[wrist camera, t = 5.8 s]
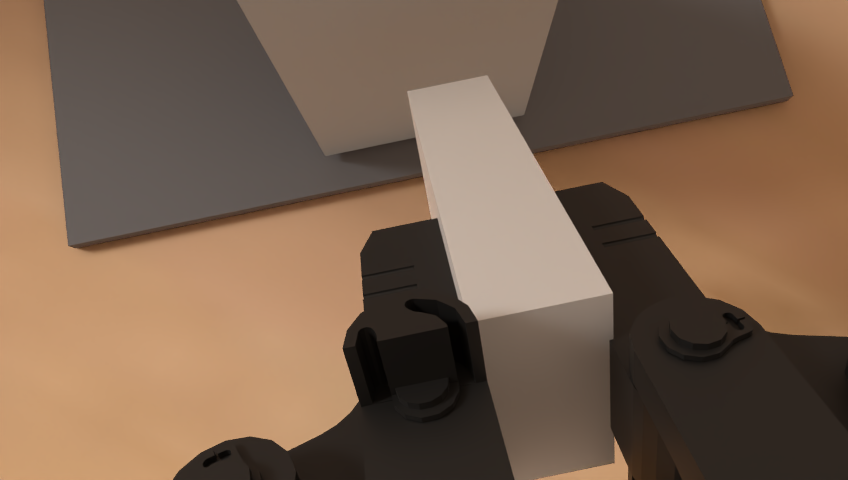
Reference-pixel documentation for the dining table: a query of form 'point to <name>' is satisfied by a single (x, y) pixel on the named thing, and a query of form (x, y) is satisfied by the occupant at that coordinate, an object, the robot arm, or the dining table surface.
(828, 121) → the dining table surface
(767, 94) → the mat
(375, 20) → the block
